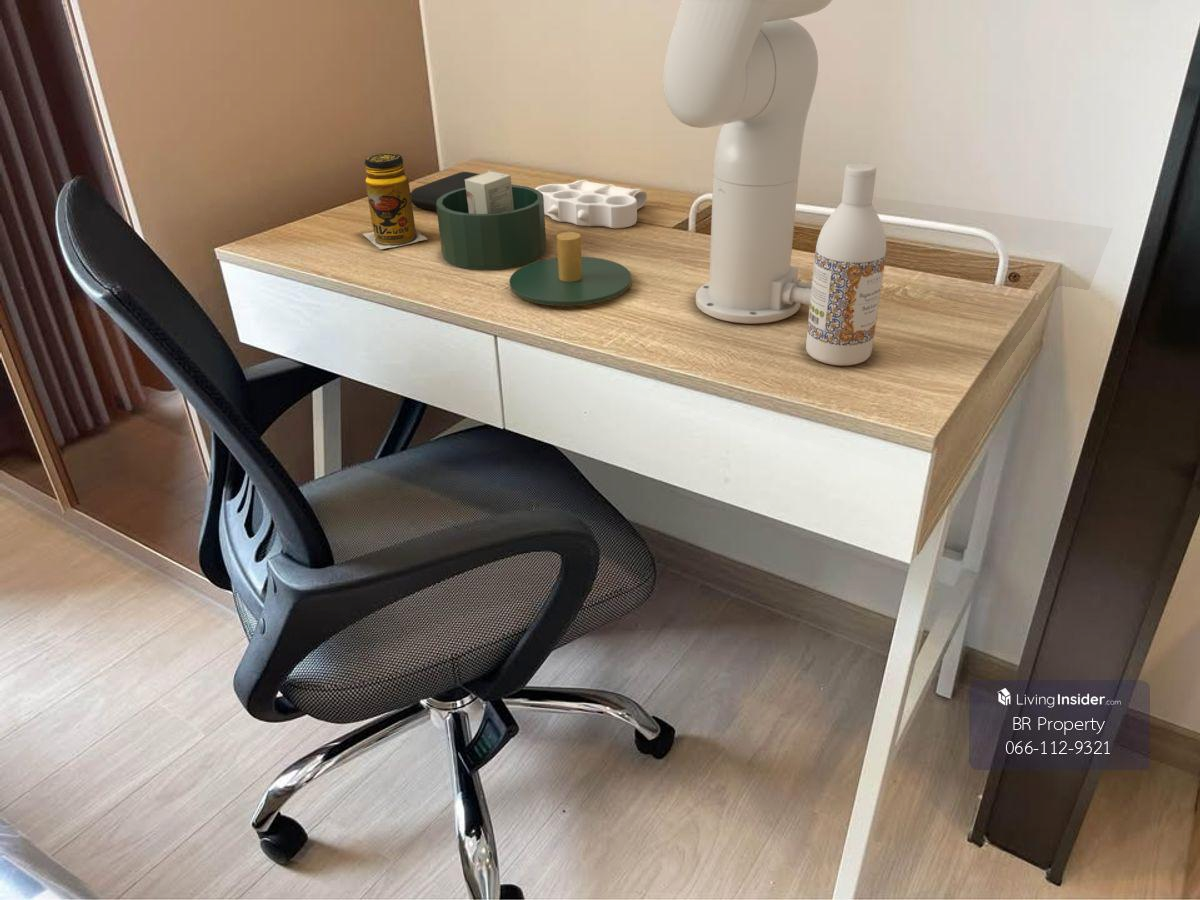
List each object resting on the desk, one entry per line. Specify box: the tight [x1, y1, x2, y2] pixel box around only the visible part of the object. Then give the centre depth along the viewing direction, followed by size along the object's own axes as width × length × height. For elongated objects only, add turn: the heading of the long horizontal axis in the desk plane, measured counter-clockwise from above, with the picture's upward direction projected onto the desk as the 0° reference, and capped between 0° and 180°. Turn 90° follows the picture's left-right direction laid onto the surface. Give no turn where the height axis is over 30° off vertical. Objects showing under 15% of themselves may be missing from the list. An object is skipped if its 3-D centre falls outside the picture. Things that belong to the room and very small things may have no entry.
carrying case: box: [410, 171, 480, 212], centre depth 150 cm, size 11×3×15 cm
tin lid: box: [509, 231, 633, 307], centre depth 115 cm, size 16×16×7 cm
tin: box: [436, 183, 547, 271], centre depth 127 cm, size 15×15×8 cm
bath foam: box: [805, 162, 887, 367], centre depth 93 cm, size 7×7×20 cm
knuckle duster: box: [534, 179, 648, 229], centre depth 142 cm, size 3×18×15 cm
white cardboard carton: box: [465, 170, 514, 214], centre depth 126 cm, size 5×4×10 cm
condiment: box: [361, 152, 428, 250], centre depth 132 cm, size 7×8×12 cm
